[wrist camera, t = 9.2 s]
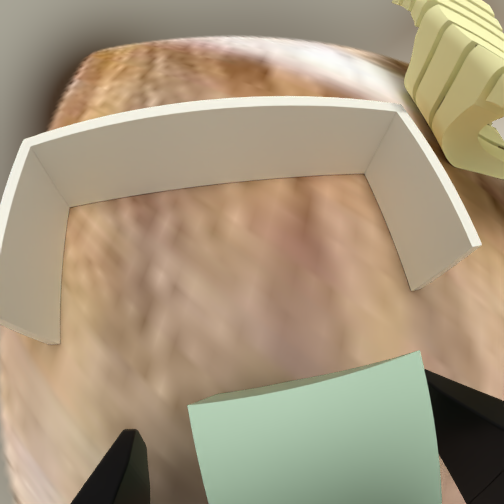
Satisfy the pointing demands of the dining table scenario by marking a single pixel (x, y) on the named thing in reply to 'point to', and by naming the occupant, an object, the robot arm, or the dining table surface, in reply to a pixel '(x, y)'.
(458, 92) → the slatted curved stool
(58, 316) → the cream u-shaped wall
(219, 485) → the block
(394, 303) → the dining table surface
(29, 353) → the dining table surface
